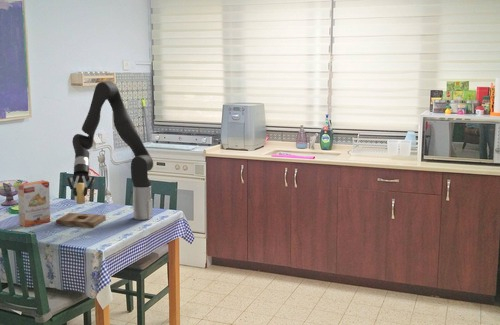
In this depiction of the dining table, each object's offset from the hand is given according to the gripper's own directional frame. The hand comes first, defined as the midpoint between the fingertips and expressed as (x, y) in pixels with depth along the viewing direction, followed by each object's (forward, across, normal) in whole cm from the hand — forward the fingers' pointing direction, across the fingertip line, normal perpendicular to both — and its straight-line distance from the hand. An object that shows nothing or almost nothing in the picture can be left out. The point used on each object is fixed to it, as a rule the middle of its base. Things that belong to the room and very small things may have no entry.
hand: (80, 195), depth 275 cm
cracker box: (+9, -22, +12) cm, 27 cm away
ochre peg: (+2, 0, +4) cm, 5 cm away
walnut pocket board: (+9, 0, +12) cm, 15 cm away
